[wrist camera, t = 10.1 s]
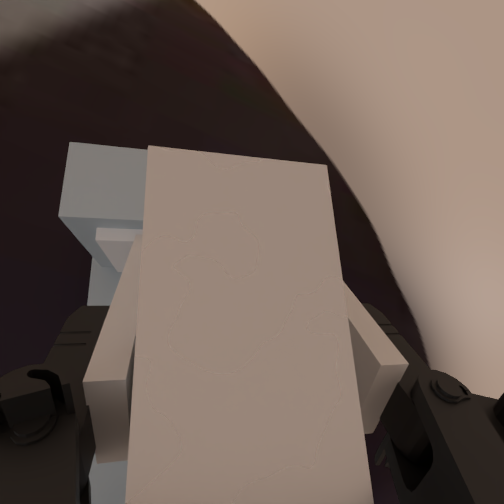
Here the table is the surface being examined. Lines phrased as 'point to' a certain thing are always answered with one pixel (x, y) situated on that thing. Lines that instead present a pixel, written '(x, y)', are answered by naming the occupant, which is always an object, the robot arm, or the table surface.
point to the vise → (105, 246)
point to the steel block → (242, 339)
